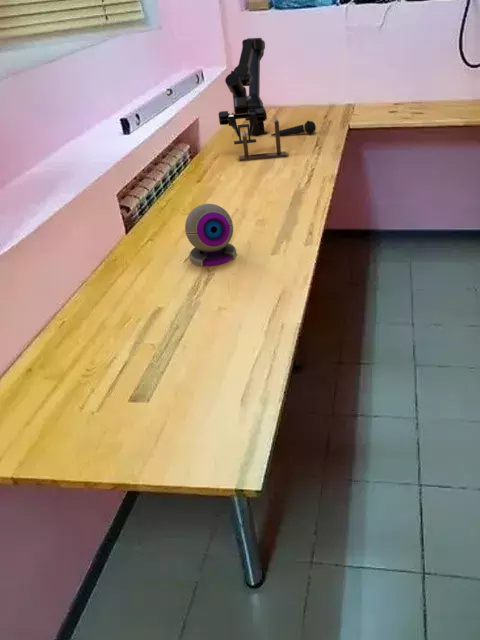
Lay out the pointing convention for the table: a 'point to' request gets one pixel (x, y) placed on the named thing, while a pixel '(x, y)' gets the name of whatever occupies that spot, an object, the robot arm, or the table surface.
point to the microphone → (299, 129)
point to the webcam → (210, 235)
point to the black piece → (248, 135)
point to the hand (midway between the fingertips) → (244, 135)
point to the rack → (264, 155)
